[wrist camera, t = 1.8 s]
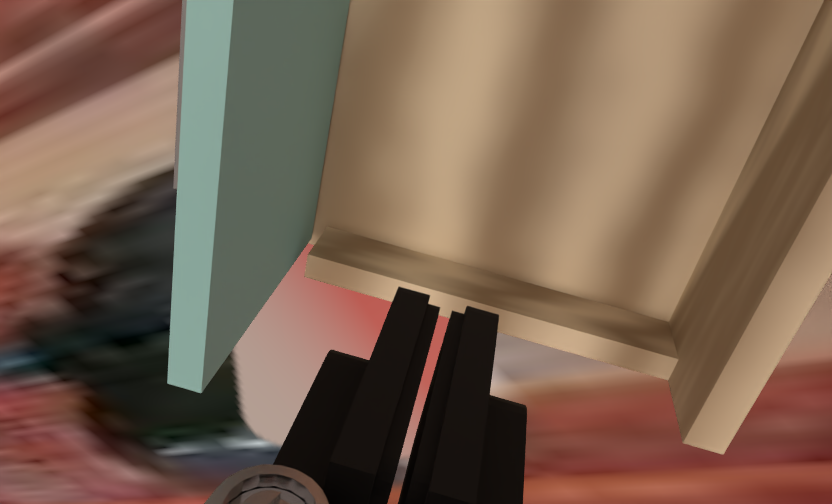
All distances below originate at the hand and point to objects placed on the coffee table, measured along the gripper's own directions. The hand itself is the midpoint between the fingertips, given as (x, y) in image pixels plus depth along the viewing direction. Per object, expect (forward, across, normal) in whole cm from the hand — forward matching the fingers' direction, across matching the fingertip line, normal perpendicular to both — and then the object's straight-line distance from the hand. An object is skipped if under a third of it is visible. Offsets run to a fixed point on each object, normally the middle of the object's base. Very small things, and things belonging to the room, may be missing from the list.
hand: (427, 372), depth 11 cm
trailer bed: (+23, -2, 0) cm, 23 cm away
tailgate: (+20, +8, 0) cm, 21 cm away
